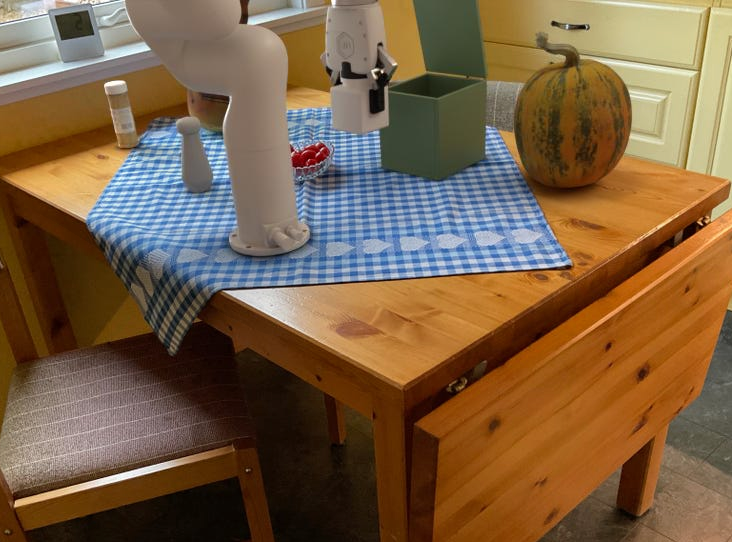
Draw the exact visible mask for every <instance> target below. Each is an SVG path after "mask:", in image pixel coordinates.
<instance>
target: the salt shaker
mask: <svg viewBox="0 0 732 542" xmlns="http://www.w3.org/2000/svg"><path fill="white" fill-rule="evenodd" d="M175 127H176V132H177V134H180V155H181V156H180V158H181V160H180V161H181V162H180V163H181V164H180V165H181V169H180V170H181V172H180V173H181V181H182V183H183V184H184V186H185V187H186V188H187V190H188V191H189V192H190V193H193V194H194V193H195V194H197V193H199V194H200V193H204V192H207V191H210V189H211V186H212V183H213V180H214V172H213V170H212V167H211V164H210V161H209V158H208V155H207V152H206V150H205V149H206V148H205V146H204V144H203V141H202V138H201V135H200V131H201V130H202V127H201V124H200V121H199V119H198V118H196V117H191V116H184V117H181V118H179V119H178V120H176V122H175Z"/></svg>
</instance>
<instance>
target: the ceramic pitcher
mask: <svg viewBox="0 0 732 542" xmlns="http://www.w3.org/2000/svg"><path fill="white" fill-rule="evenodd" d="M250 1H251V0H240V5H241V18H240V21H239V24H248V22H249V3H250ZM186 99H187V100H186V101H187V102H186V103H187V109H188V110H187V111H188V114H189V117H196V118H198V119H199V121H200V124H201V128H203V129H205V130H208V131H211V132H216V133H223V122H224V118H225V114H226V112H227V109H228V106H229V102H230V97H229V96H224V95H218V94H210V93H202V92H197V91H193V90H190V89H188V88H187V98H186Z"/></svg>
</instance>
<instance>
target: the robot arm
mask: <svg viewBox="0 0 732 542" xmlns="http://www.w3.org/2000/svg"><path fill="white" fill-rule="evenodd" d="M330 1H331V5H328V7H327V12H326V21H325V51H323V52H322V54H321V55H320V57H319V60H320V62H321V63H322V65H323V67H324V68H325V72H326V73H327V75H328V77H329V78H330V79H329V80H330V83H331V84H332V85H333V87H334V86H337V85H341V84H343V83H342V82H341V78H340V71H341V70H342V62H345V61H346V62H349V63H351V71H352V72H354V73H356V74H366V75H367V77H368V79H369V82H370V84H371V87H372V89H370V90H369V104H370V113H371V114H376V113H379V112H382V111H384V110H385V93H384V87H386V86H387V85H388V84H389V82H390V81H391V80H392V78H393V76H394V74H395V72H396V70H397V69H398V67H399V65H398V63H397V61H396V60H395V59H394V58H393V57H392V55H391V54H390V53H389V52H388V47H387V46H388V45H387V36H386V27H385V19H384V14H383V10H382V5H381V4H379V0H330ZM123 4H124V8H125V9H124V10H125V12H126V14H127V17H128V21H129V23H130V25H131V26H132V28H133V29H134V31H135V32H136V34H137V35H138V36H139V37H140V39H141V40H142V41H143V42H144V43H145V45H146V46H147V47H148V48H149V50H150V51H151V52H152V53H153V54H154V56H155V57H157V59H158V60H159V61H160V62H161V64H162V65H163V66H164V67H165V68H166V70H167V71H168V72H169V73H170V74H171V75H172V76H173V77H174V78H175V79H176V81H178V82H179V84H181V85H182V86H183V87H185V88H187V90H188V89H190V90H193V91H197V92H202V93H210V94H218V95H224V96H229V97H230V102H229V106H228V109H227V112H226V114H225V118H224V122H223V132H222V139H223V144H224V149H225V156H226V157H225V158H226V162H227V169H228V175H229V182H230V189H231V194H232V201H233V206H234V212H235V213H234V214H235V219H236V226H237V228H235V229H234V230H233V231H232V232H230V235H229V237H228V238H229V239H228V241H229V245H230V248H232V250H233V251H235V252H237V253H238V254H242V255H246V256H254V257H268V256H276V255H282V254H286V253H290V252H293V251H294V250H297V249H299V248H301V247H302V246H304V245H306V243H307V242H308V241H309V240H310V237H311V231H310V227H309V226H308V224H306V223H305V222H304V221H302V220H300V219H299V213H298V212H299V211H298V204H297V203H298V202H297V193H296V185H295V177H294V167H293V157H292V149H291V140H290V134H289V124H288V111H287V110H288V109H287V86H288V76H289V75H288V74H289V56H288V51H287V48H286V46H285V44H284V41H283V40H282V39H281V38H280V36H278V34H276V33H275V32H274V31H273V30H271V29H269V28H266V27H265V26H260V25H256V24H248V23H247V24H239V21H240V18H241V5H240V0H123ZM375 73H376V76H375ZM388 86H389V85H388Z"/></svg>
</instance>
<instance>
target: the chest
mask: <svg viewBox="0 0 732 542" xmlns="http://www.w3.org/2000/svg"><path fill="white" fill-rule="evenodd" d="M487 87H488V80H486V79H480V78H473V77H465V76H457V75H449V74H441V73H433V72H426V73H423V74H420V75H418V76H414V77H412V78H409V79H406V80H403V81H400V82H397V83H394V84H392V85H390V86H389V85H388V112H389V126H388V127H385V128H382V129H379V130H378V131H379V149H380V150H379V151H380V168H381V169H384V170H389V171H393V172H398V173H403V174H407V175H411V176H416V177H421V178H424V179H429V180H434V181H438V182H440V181H442V180H444V179H446V178H448V177H450V176H452V175H455V174H456V173H457V172H461V171H462V170H464V169H466V168H468V167H470V166H472V165H474V164H476V163H478V162H480V161H482V160H484V159H486V148H487V147H486V146H487V145H486V143H487V142H486V141H487V138H486V137H487V95H488V94H487V93H488V92H487V91H488V88H487Z"/></svg>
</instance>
